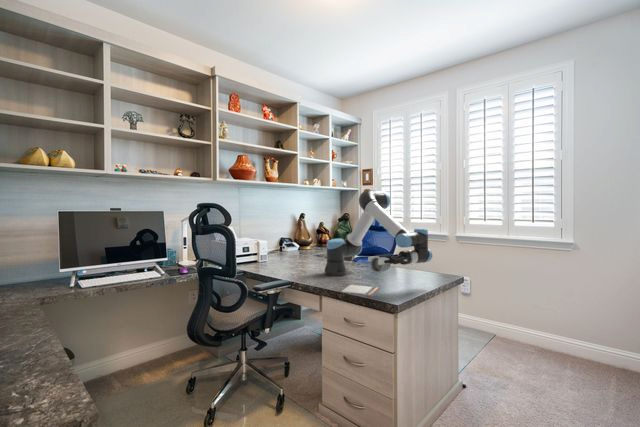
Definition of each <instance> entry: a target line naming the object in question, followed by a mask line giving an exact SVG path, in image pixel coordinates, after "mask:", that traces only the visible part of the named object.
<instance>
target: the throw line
mask: <svg viewBox="0 0 640 427" xmlns="http://www.w3.org/2000/svg"><path fill="white" fill-rule="evenodd" d="M379 288H380V287H378V286H376V287H375V288H374V289H373V290H372V289H371V290H370V291H369V292H368V294H367V296H369V297H370V296H372V295H374V293H375V292H376V291H377V290H379Z"/></svg>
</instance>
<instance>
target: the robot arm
mask: <svg viewBox="0 0 640 427" xmlns="http://www.w3.org/2000/svg"><path fill="white" fill-rule="evenodd" d="M390 204H391V196H390V195H389V193H388V192H387V191H385V190H381V189H379V190H373V189H372V190H369V189H368V190H364V191H363V192H362V193H360V195H359V198H358V205H359V206H360V208H361V209H362V210H363V212H362V213H361V215H360V217H359V219H358V221H357V222H356V224H355V226H354V228H353V229H352V231H351V233H350V234H347V236H346V237H345V239H343V238H341V237H339V238H333V239H329V240H327V242H326V265H325V268H324V271H323V272H324V273H323V274H324V275H325V276H330V277H338V276H345V275H347V268H346V264H345V258H347V257H356V256H358V255H360V254H361V253H362V251H363V239H364V237H365V235H366V234H367V232H368V231H369V229H370V227H371V226H372V224H373V222H374V220H375V221H376V222H377V223H379V224H380V225H381V227H383V228H384V229H385V230H386V232H388V233H389V234H390V235H391V236H392V237H394V238H395V243H396V245H397V246H398V247H399V248H405V249H406V248H411V247H412V248H413V249H409V250H400V251H399V252H398V253H396V254H393V253H391V254H376V255H373V256H367V262H368V263H371V261H372V259H373V258H376V257H385V258H387V259H378V265H383V264H389V263H390V265H399V264H400V265H402V266H406V265H413V264H424V263H428V262H431V261H432V259H433V253H432V250H430V249H429V232H428V231H429V230H428V229H427V228H422V227H418V228H417V227H416V228H414V230H413V232H409V231H408V230H407V229H406V228H405V227H403V226H402V225H401V224H400V223H399V222H398V221H397V220H396V219H394V217H392V216H391V215H390V213H388V212H387V211H386V210H385V209H387V208H388V207H390Z"/></svg>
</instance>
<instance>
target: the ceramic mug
mask: <svg viewBox="0 0 640 427" xmlns="http://www.w3.org/2000/svg"><path fill="white" fill-rule="evenodd" d="M378 259H387V258H385V257H376V258H373V259H372V261H371V262H370V266H369V270H372V271H373V272H375V273H381V272H386V271H388V270H389V269H390V267H391V264H390V263H389V264H383V265H378Z"/></svg>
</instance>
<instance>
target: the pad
mask: <svg viewBox="0 0 640 427" xmlns="http://www.w3.org/2000/svg"><path fill="white" fill-rule="evenodd" d="M373 288H374V287H373V286H366V285H358V284H357V285H356V284H350V285H348V286H347V287H345V288H344V289H342V290H341V293H349V294H356V295H365V296H366V294H367V293H369V292H371V291H372V289H373Z"/></svg>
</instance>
